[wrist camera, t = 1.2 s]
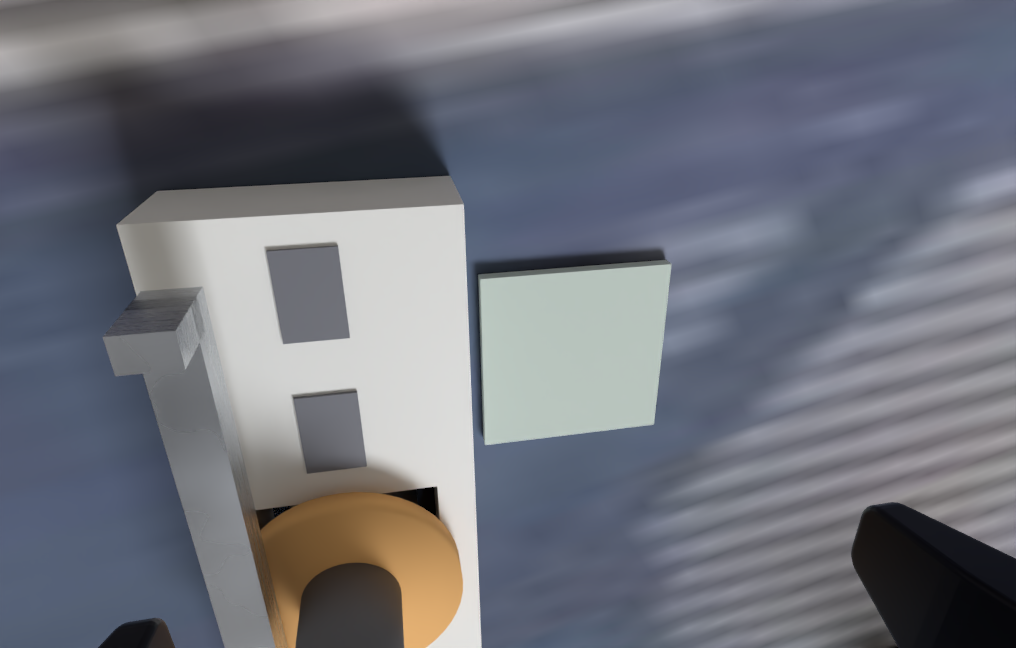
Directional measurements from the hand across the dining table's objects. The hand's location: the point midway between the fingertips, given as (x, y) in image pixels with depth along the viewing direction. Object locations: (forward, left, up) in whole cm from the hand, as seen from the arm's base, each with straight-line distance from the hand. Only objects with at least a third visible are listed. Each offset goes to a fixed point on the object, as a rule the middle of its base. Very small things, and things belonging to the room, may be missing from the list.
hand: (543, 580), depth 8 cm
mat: (-4, -4, -12) cm, 13 cm away
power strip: (-9, +4, -12) cm, 15 cm away
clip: (-7, +6, -8) cm, 12 cm away
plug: (-9, +4, -12) cm, 15 cm away
